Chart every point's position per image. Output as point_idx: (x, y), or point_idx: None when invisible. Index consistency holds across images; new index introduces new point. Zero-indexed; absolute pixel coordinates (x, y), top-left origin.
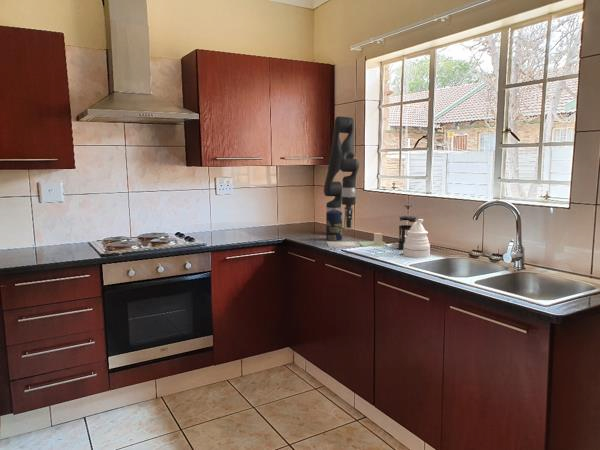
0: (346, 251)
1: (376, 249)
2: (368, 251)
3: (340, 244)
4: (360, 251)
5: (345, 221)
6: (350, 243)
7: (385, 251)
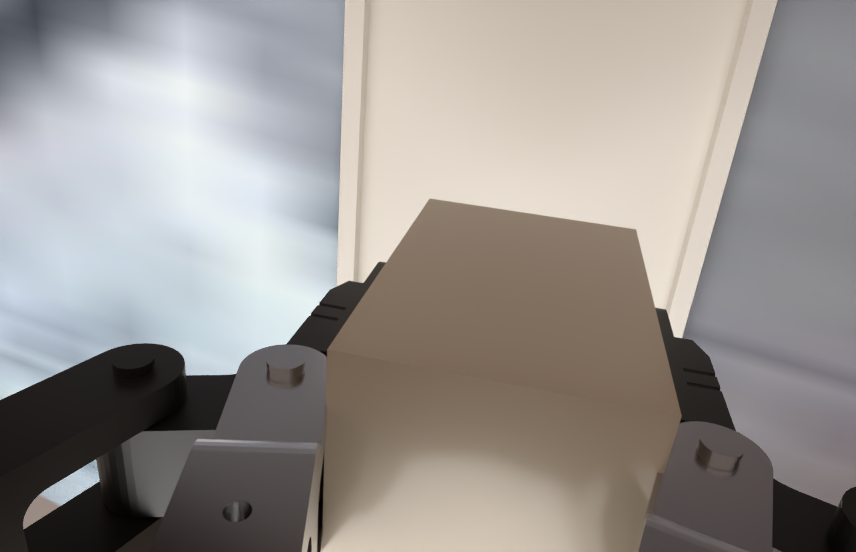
0: (32, 27)
1: None
2: (66, 311)
3: (557, 58)
4: (55, 220)
5: (368, 305)
6: None
7: (85, 472)
